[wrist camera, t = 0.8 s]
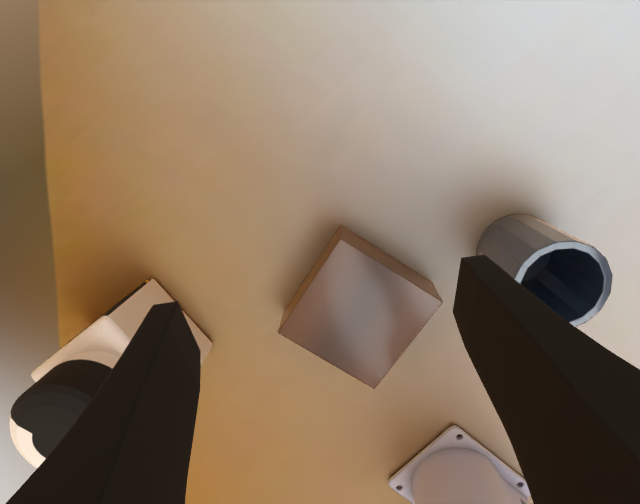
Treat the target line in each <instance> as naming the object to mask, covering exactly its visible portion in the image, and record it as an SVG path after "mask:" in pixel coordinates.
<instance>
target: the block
mask: <svg viewBox="0 0 640 504" xmlns="http://www.w3.org/2000/svg"><path fill="white" fill-rule="evenodd" d="M442 302H443V301H442V299H441V297H440V296H439V294H438V292H437V290H436V288H435V286H434V284H433V283H432V282H431V281H429V280H428V279H426V278H424V277H423V276H421V275H420V274H418V273H416V272H415V271H413V270H412V269H410V268H408V267H407V266H405V265H404V264H402V263H400V262H399V261H397V260H396V259H394V258H392V257H391V256H389V255H388V254H386V253H384V252H383V251H381V250H380V249H378V248H376V247H375V246H373V245H372V244H370V243H368V242H367V241H365V240H364V239H362V238H360V237H359V236H357V235H356V234H354V233H352V232H351V231H349V230H348V229H346V228H344V227H343V226H340V227H339V229H338V230H337V232H336V233H335V235H334V236H333V238H332V239H331V241H330V242H329V244H328V246H327V247H326V249H325V250H324V252H323V253H322V255H321V256H320V258H319V259H318V261H317V262H316V264H315V265H314V267H313V268H312V270H311V271H310V273H309V274H308V276H307V277H306V279H305V280H304V282H303V283H302V285H301V286H300V288H299V289H298V291H297V292H296V294H295V295H294V297H293V298H292V300H291V301H290V303H289V304H288V306H287V307H286V309H285V310H284V313H283V317H282V320H281V323H280V326H279V329H278V333H279V334H281V335H283V336H284V337H286V338H288V339H289V340H291V341H293V342H295V343H296V344H298V345H300V346H302V347H303V348H305V349H307V350H308V351H310V352H312V353H314V354H315V355H317V356H319V357H320V358H322V359H324V360H326V361H327V362H329V363H331V364H332V365H334V366H336V367H338V368H339V369H341V370H343V371H345V372H346V373H348V374H350V375H351V376H353V377H355V378H357V379H358V380H360V381H362V382H363V383H365V384H367V385H369V386H370V387H372V388H374V389H375V387H376V386H377V385H378V384H379V382H380V381H381V380H382V379H383V377H384V376H385V375H386V373H387V372H388V371H389V370H390V368H391V367H392V366H393V365H394V363H395V362H396V361H397V360H398V358H399V357H400V356H401V354H402V353H403V352H404V351H405V349H406V348H407V347H408V346H409V344H410V343H411V342H412V340H413V339H414V338H415V337H416V335H417V334H418V333H419V332H420V330H421V329H422V328H423V327H424V325H425V324H426V323H427V321H428V320H429V319H430V318H431V316H432V315H433V314H434V313H435V311H436V310H437V309H438V307H439V306H440V305H441V304H442Z"/></svg>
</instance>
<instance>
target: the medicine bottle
mask: <svg viewBox="0 0 640 504" xmlns="http://www.w3.org/2000/svg"><path fill="white" fill-rule="evenodd" d="M169 302H175V301H174V300H173V299H172V298H171V297H170V296H169V295H168V294H167V293H166V291H165V290H164V289H163V288H162V287H161V286H160V285H159V284H158V283H157V282H156V280H154V279H152V278H150V279H147V280H146V281H145V282H144V283H142V284H141V285H140V286H139V287H137V288H136V289H135V290H134V291H132V292H131V293H130V294H128V295H127V296H126V297H125V298H123V299H122V300H121V301H120V302H118V303H117V304H116V305H115V306H113V307H112V308H111V309H109V310H108V311H107V312H106V313H104V314H103V315H102V316H101V317H99V318H98V319H97V320H96V321H94V322H93V323H92V324H90V325H89V326H88V327H87V328H86V329H84V330H83V331H82V332H81V333H79V334H78V335H77V336H76V337H74V338H73V339H72V340H71V341H69V342H68V343H67V344H66V345H64V346H63V347H62V348H61V349H60V350H58V351H57V352H56V353H55V354H53V355H52V356H51V357H50V358H48V359H47V360H46V361H45V362H43V363H42V364H41V365H40V366H39V367H37V368H36V369H35V370H34V371H33V372H32V374H31V377H32V378H33V379H34V380H35V381H36V383H35V384H34V385H32V386H31V387H30V388H29V389H28V390H26V391H25V392H24V393H23V394H22V395H21V396H20V397H19V398H18V399H17V400H16V401H15V403H14V405H13V407H12V409H11V413H10V434H11V437H12V440H13V443H14V444H15V447H16V448H17V450H18V451H19V453H20V454H21V455H22V456H23V457H24V458H25V459H26V460H27V461H28V462H29V463H30V464H32V465H33V466H34V467H36V468H38V467H39V466H40V465H41V464H42V463H43V461H44V460H45V459H46V458H47V457H48V455H49V454H50V453H51V452H52V450H53V449H54V448H55V447H56V446H57V444H58V443H59V442H60V441H61V439H62V438H63V437H64V436H65V434H66V433H67V432H68V430H69V429H70V428H71V427H72V425H73V424H74V423H75V421H76V420H77V419H78V417H79V416H80V415H81V413H82V412H83V410H84V409H85V408H86V406H87V405H88V404H89V402H90V401H91V399H92V398H93V397H94V395H95V394H96V392H97V391H98V390H99V388H100V387H101V385H102V384H103V382H104V381H105V379H106V378H107V376H108V375H109V373H110V372H111V370H112V369H113V367H114V366H115V364H116V363H117V361H118V360H119V358H120V357H121V355H122V354H123V352H124V350H125V349H126V347H127V346H128V344H129V342H130V341H131V339H132V338H133V336H134V334H135V333H136V331H137V330H138V328H139V326H140V325H141V323H142V321H143V320H144V318H145V317H146V315H147V313H148V312H149V310H150V309H151V307H152V306H153V305H155V304H162V303H169ZM182 312H183V314H184V316H185V318H186V320H187V322H188V325H189V327H190V329H191V331H192V333H193V335H194V338H195V340H196V342H197V344H198V346H199V349H200V351H201V358H200V366H201V364H202V363H203V361H204V359H205V357H206V356H207V354H208V352H209V351H210V349H211V347H212V343H211V341H210V340H209V339H208V338H207V337H206V336H205V334H204V333H203V332H202V331H201V330H200V329H199V328H198V327H197V326H196V325H195V323H194V322H193V321H192V320H191V319H190V318H189V317H188V316H187V315H186V313H185V312H184V311H183V310H182Z"/></svg>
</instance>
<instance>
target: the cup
mask: <svg viewBox="0 0 640 504" xmlns="http://www.w3.org/2000/svg"><path fill="white" fill-rule="evenodd" d="M476 254H477V256H478V255H486V256H487V257H489V258H490V259H491V260H492V261H494V262H495V263H496V264H497V265H498V266H500V267H501V268H502V269H503V270H504V271H505V272H507V273H508V274H509V275H510V276H511V277H513V278H514V279H515V280H516V281H517V282H519V283H520V284H521V285H522V286H523V287H525V288H526V289H527V290H528V291H529V292H531V293H532V294H533V295H534V296H536V297H537V298H538V299H539V300H541V301H542V302H543V303H544V304H546V305H547V306H548V307H550V308H551V309H552V310H553V311H555V312H556V313H557V314H559V315H560V316H561V317H562V318H564V319H565V320H566V321H568V322H569V323H570V324H572V325H573V326H574V327H576V326H578V325H581V324H583V323H586V322H587V321H588V320H590V319H591V318H592V317H593V316H594V315H595V314H597V313H598V312H599V311H600V310H601V309H602V307H603V305H604V304H605V302H606V300H607V298H608V297H609V295H610V292H611V284H612V273H611V270H610V267H609V264H608V261H607V259H606V258H605V257H604V256H603V255H602V254H601V253H600V252H599V251H598V250H597V249H596V248H595V247H593V246H591V245H589V244H587V243H585V242H584V241H582V240H580V239H578V238H576V237H574V236H572V235H570V234H568V233H566V232H564V231H562V230H560V229H558V228H556V227H554V226H552V225H550V224H548V223H547V222H545V221H543V220H540V219H537V218H535V217H533V216H530V215H525V214H514V215H509V216H505V217H503V218H501V219H499V220H497V221H495V222H494V223H492V224H491V225H490V226H489V227H488V228H487V229H486V230H485V231H484V233H483V234H482V236H481V238H480V240H479V243H478V246H477V253H476Z"/></svg>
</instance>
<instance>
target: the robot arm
mask: <svg viewBox="0 0 640 504" xmlns="http://www.w3.org/2000/svg"><path fill="white" fill-rule="evenodd" d="M453 313H454V317H455V320H456V323H457V326H458V329H459V332H460V334H461V337H462V340H463V343H464V346H465V348H466V350H467V352H468V354H469V356H470V359H471V361H472V363H473V365H474V367H475V369H476V371H477V373H478V375H479V377H480V379H481V381H482V383H483V385H484V387H485V389H486V391H487V393H488V395H489V397H490V399H491V401H492V403H493V405H494V407H495V409H496V411H497V413H498V415H499V417H500V419H501V421H502V423H503V425H504V428H505V430H506V432H507V434H508V437H509V439H510V441H511V444H512V446H513V449H514V451H515V454H516V457H517V459H518V462H519V465H520V467H521V470H522V473H523V475H524V478H525V479H524V478H523V477H522V476H520V475H519V474H518V473H516V472H515V471H514V470H513V469H511V468H510V467H509V466H508V465H506V464H505V463H504V462H503V461H501V460H500V459H499V458H497V457H496V456H495V455H494V454H492V453H491V452H490V451H489V450H487V449H486V448H485V447H483V446H482V445H481V444H480V443H478V442H477V441H476V440H475V439H473V438H472V437H471V436H470V435H468V434H467V433H466V432H464V431H463V430H462V429H461V428H459V427H458V426H455V425H453V426H451V427H449V428H448V429H447V430H446V431H444V432H443V433H442V434H441V435H440V436H439V437H437V438H436V439H435V440H434V441H433V442H432V443H430V444H429V445H428V446H427V447H426V448H425V449H423V450H422V451H421V452H420V453H419V454H418V455H416V456H415V457H414V458H413V459H412V460H411V461H410V462H408V463H407V464H406V465H405V466H404V467H403V468H401V469H400V470H399V471H398V472H397V473H396V474H394V475H393V476H392V477H391V478H390V479H389V486H390V487H391V488H392V489H393V490H395V491H396V492H397V493H399V494H400V495H402V496H403V497H404V498H406V499H407V500H408V501H410V502H411V503H412V504H530V503H529V501H528V499H527V498H528V497H529V496H531V497H532V500H533V503H534V504H640V370H639V369H638V368H636V367H634V366H633V365H631V364H630V363H628V362H626V361H625V360H623V359H622V358H620V357H618V356H617V355H615V354H614V353H612V352H611V351H609V350H608V349H606V348H605V347H603V346H602V345H600V344H599V343H597V342H596V341H594V340H593V339H591V338H590V337H589V336H587V335H586V334H584V333H583V332H582V331H580V330H579V329H577V328H576V327H574V326H573V325H572V324H570V323H569V322H568V321H566V320H565V319H564V318H562V317H561V316H560V315H559V314H557V313H556V312H555V311H553V310H552V309H551V308H550V307H548V306H547V305H546V304H544V303H543V302H542V301H541V300H539V299H538V298H537V297H536V296H534V295H533V294H532V293H531V292H529V291H528V290H527V289H526V288H525V287H523V286H522V285H521V284H520V283H519V282H517V281H516V280H515V279H514V278H513V277H511V276H510V275H509V274H508V273H507V272H505V271H504V270H503V269H502V268H501V267H500V266H498V265H497V264H496V263H495V262H494V261H492V260H491V259H490V258H489V257H487V256H486V255H478V256H472V257H465V258H461V264H460V270H459V276H458V283H457V289H456V295H455V302H454V308H453ZM200 358H201V351H200V349H199V346H198V344H197V342H196V340H195V338H194V335H193V333H192V331H191V329H190V327H189V325H188V322H187V320H186V318H185V316H184V314H183V312H182V309H181V307H180V305H179V303H178V301H175V302H169V303H162V304H155V305H153V306H152V307H151V309H150V310H149V312H148V313H147V315H146V317H145V318H144V320H143V321H142V323H141V325H140V326H139V328H138V330H137V331H136V333H135V334H134V336H133V338H132V339H131V341H130V342H129V344H128V346H127V347H126V349H125V350H124V352H123V354H122V355H121V357H120V358H119V360H118V361H117V363H116V364H115V366H114V367H113V369H112V370H111V372H110V373H109V375H108V376H107V378H106V379H105V381H104V382H103V384H102V385H101V387H100V388H99V390H98V391H97V392H96V394H95V395H94V397H93V398H92V399H91V401H90V402H89V404H88V405H87V406H86V408H85V409H84V410H83V412H82V413H81V415H80V416H79V417H78V419H77V420H76V421H75V423H74V424H73V425H72V427H71V428H70V429H69V430H68V432H67V433H66V434H65V436H64V437H63V438H62V439H61V441H60V442H59V443H58V444H57V446H56V447H55V448H54V449H53V450H52V452H51V453H50V454H49V455H48V457H47V458H46V459H45V460H44V461H43V463H42V464H41V465H40V466H39V467H38V468H37V470H36V471H35V472H34V473H33V474H32V475H31V476H30V477H29V479H28V480H27V481H26V482H25V483H24V484H23V485H22V486H21V488H20V489H19V490H18V491H17V492H16V493H15V494H14V495H13V496H12V497H11V498H10V499H9V501H8V502H7V503H6V504H185V494H186V485H187V475H188V468H189V462H190V455H191V448H192V441H193V434H194V427H195V421H196V414H197V406H198V399H199V392H200ZM458 434H461V436H457V435H458ZM519 482H521V483H519ZM398 485H400V487H398Z"/></svg>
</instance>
